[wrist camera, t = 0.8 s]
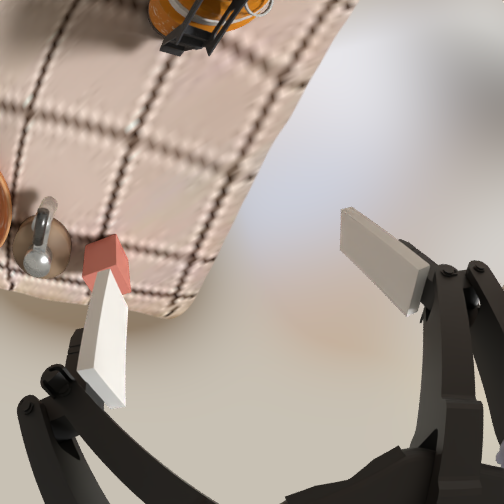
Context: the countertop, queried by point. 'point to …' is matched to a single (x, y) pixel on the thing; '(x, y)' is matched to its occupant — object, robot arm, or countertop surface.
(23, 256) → the hub plate
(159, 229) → the countertop surface
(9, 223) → the saucer
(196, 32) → the canister
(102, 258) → the block
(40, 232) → the crank
